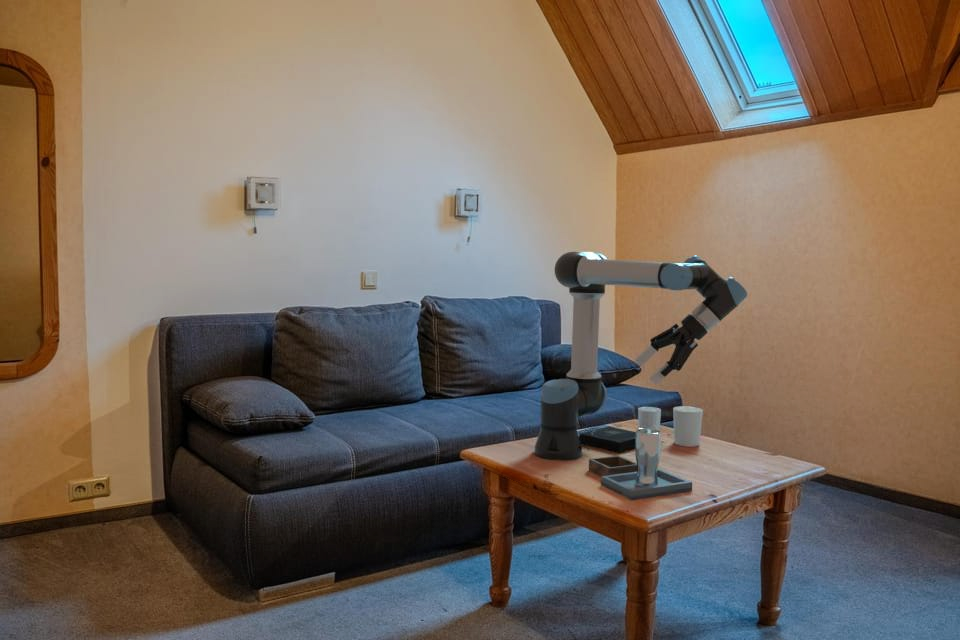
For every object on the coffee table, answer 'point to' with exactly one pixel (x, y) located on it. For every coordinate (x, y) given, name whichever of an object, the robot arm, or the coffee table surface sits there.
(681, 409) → the candle holder
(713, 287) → the robot arm
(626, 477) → the slate tray
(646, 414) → the white cup
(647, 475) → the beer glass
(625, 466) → the walnut holder
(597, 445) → the portable cd player
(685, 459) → the coffee table surface
